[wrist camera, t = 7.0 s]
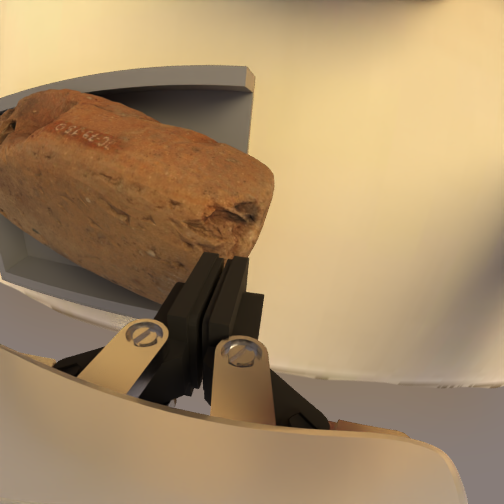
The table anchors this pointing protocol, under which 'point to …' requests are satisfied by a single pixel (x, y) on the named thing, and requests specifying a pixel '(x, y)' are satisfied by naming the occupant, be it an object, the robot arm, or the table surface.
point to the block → (126, 189)
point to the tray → (166, 112)
